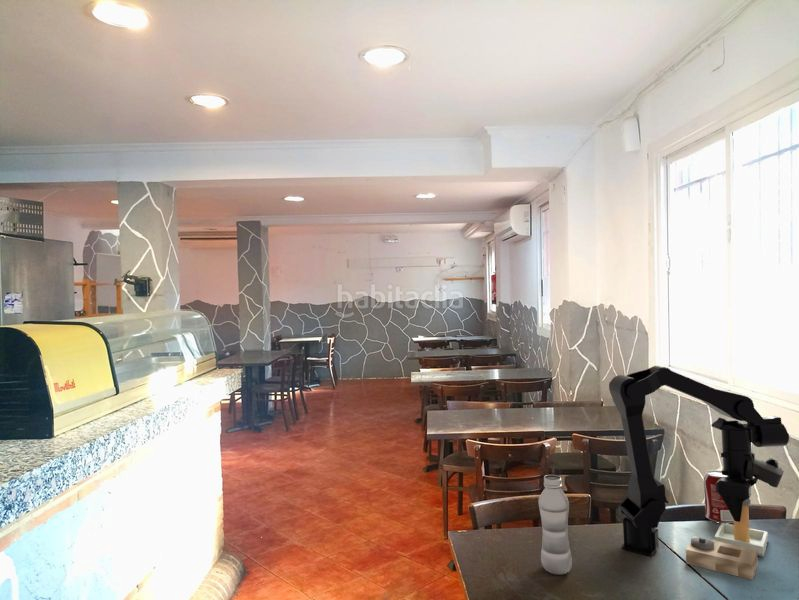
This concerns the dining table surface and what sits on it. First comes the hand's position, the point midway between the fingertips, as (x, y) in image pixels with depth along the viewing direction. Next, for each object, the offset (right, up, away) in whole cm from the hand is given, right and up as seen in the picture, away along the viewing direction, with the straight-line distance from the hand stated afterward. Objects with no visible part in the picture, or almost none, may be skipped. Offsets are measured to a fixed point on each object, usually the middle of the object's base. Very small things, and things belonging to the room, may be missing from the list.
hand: (740, 515), depth 121 cm
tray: (0, -7, 0) cm, 6 cm away
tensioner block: (-10, -7, -9) cm, 15 cm away
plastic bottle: (-45, -9, -9) cm, 47 cm away
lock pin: (0, -6, 0) cm, 6 cm away
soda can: (+4, -7, +13) cm, 15 cm away
